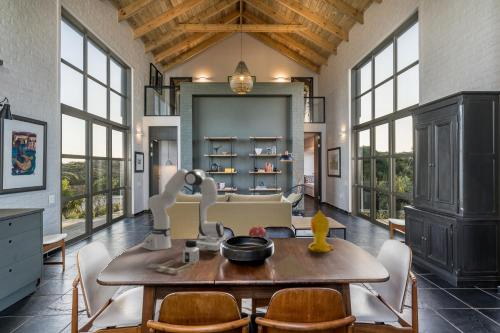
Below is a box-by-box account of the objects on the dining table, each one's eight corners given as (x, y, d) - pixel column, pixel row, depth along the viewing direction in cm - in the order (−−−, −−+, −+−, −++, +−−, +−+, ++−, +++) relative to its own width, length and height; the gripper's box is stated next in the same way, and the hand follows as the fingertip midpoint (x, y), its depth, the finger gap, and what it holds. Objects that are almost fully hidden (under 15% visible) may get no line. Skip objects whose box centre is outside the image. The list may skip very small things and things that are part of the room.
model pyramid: (295, 265, 173) (295, 248, 174) (311, 274, 157) (311, 256, 158) (270, 268, 167) (270, 251, 167) (285, 278, 151) (285, 259, 151)
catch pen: (156, 270, 161) (156, 266, 161) (172, 264, 173) (172, 260, 173) (176, 274, 155) (176, 270, 155) (191, 267, 167) (191, 263, 167)
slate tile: (146, 269, 165) (146, 266, 165) (151, 266, 171) (151, 263, 171) (155, 270, 164) (155, 267, 164) (161, 266, 169) (161, 264, 169)
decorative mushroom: (257, 242, 226) (257, 223, 226) (270, 245, 217) (270, 225, 217) (245, 245, 216) (245, 225, 217) (258, 249, 207) (258, 228, 207)
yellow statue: (332, 245, 219) (332, 208, 219) (333, 254, 195) (333, 212, 196) (309, 243, 223) (309, 207, 224) (307, 252, 200) (307, 211, 200)
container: (194, 264, 173) (194, 242, 174) (182, 263, 175) (182, 241, 175) (199, 260, 181) (199, 239, 181) (187, 259, 182) (187, 238, 183)
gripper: (197, 237, 202) (185, 241, 190) (222, 240, 194) (211, 244, 181) (197, 246, 202) (185, 250, 190) (222, 249, 193) (211, 254, 181)
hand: (198, 248), depth 185 cm, fingers closed
